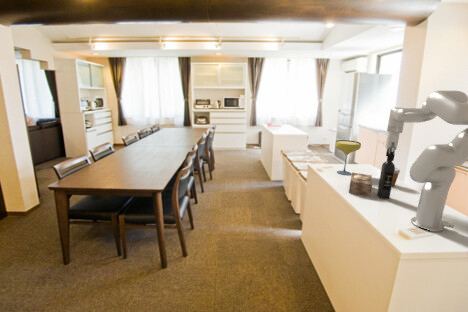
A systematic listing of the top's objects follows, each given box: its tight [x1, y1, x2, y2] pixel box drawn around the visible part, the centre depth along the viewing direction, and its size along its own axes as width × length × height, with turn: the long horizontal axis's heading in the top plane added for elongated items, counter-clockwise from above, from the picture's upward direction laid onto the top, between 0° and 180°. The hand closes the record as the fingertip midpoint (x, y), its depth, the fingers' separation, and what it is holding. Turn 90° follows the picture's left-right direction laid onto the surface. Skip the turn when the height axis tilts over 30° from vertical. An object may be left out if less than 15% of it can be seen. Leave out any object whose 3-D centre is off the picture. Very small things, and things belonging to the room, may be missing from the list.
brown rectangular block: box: [348, 172, 373, 198], centre depth 163 cm, size 12×20×8 cm, turn 152°
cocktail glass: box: [334, 139, 362, 176], centre depth 194 cm, size 18×18×25 cm
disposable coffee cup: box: [391, 167, 401, 188], centre depth 171 cm, size 10×10×12 cm
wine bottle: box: [376, 150, 396, 200], centre depth 148 cm, size 6×6×30 cm
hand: (389, 158), depth 146 cm, fingers open, 9 cm apart
